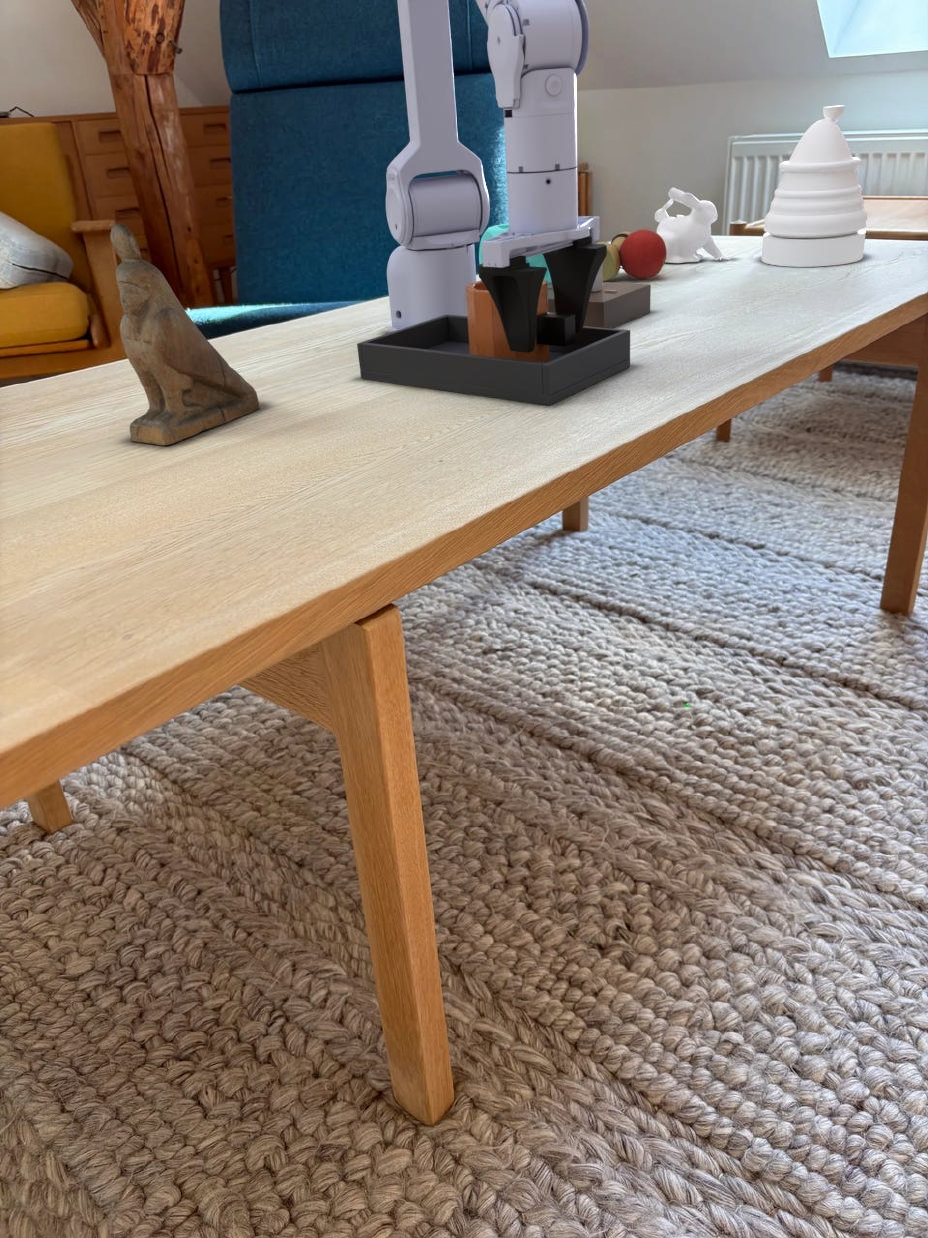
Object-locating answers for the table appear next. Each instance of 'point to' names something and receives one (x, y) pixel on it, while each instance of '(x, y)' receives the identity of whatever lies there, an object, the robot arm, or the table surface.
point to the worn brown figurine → (171, 356)
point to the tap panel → (612, 304)
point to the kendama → (634, 254)
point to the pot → (491, 335)
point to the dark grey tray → (491, 362)
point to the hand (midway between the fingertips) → (546, 340)
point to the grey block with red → (598, 280)
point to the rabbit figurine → (688, 229)
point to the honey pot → (817, 202)
